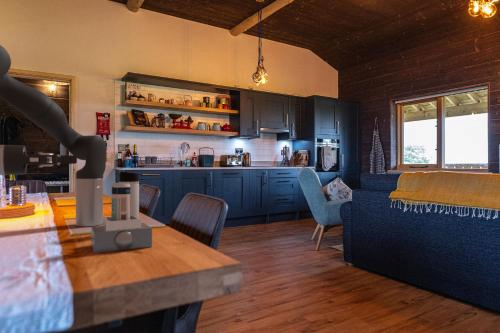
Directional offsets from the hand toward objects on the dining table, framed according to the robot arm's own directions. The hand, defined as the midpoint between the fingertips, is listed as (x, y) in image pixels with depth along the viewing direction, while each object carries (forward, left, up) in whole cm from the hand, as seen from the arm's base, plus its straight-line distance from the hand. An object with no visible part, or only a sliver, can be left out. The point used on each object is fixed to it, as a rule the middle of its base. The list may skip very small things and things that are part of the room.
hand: (76, 159), depth 92 cm
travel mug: (-12, +16, -24) cm, 31 cm away
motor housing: (+8, +11, -23) cm, 27 cm away
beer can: (+8, +11, -19) cm, 23 cm away
